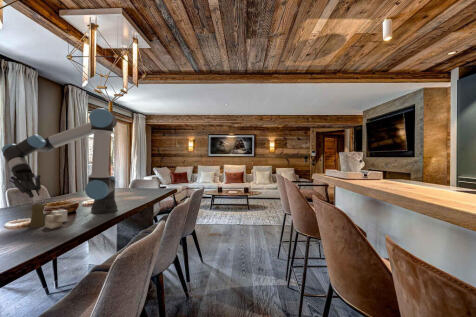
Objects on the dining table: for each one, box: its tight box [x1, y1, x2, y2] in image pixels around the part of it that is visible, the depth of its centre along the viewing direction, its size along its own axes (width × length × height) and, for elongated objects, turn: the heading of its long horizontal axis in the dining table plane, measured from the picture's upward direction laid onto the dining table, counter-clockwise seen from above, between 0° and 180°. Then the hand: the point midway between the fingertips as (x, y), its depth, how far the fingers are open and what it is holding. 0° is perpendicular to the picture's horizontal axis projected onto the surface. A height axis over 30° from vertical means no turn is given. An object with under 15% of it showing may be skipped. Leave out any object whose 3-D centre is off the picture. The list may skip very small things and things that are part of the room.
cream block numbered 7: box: [50, 209, 68, 223], centre depth 125 cm, size 5×5×6 cm
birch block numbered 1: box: [44, 213, 63, 229], centre depth 116 cm, size 5×5×6 cm
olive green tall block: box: [29, 203, 45, 228], centre depth 117 cm, size 6×6×11 cm
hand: (37, 201), depth 117 cm, fingers closed
